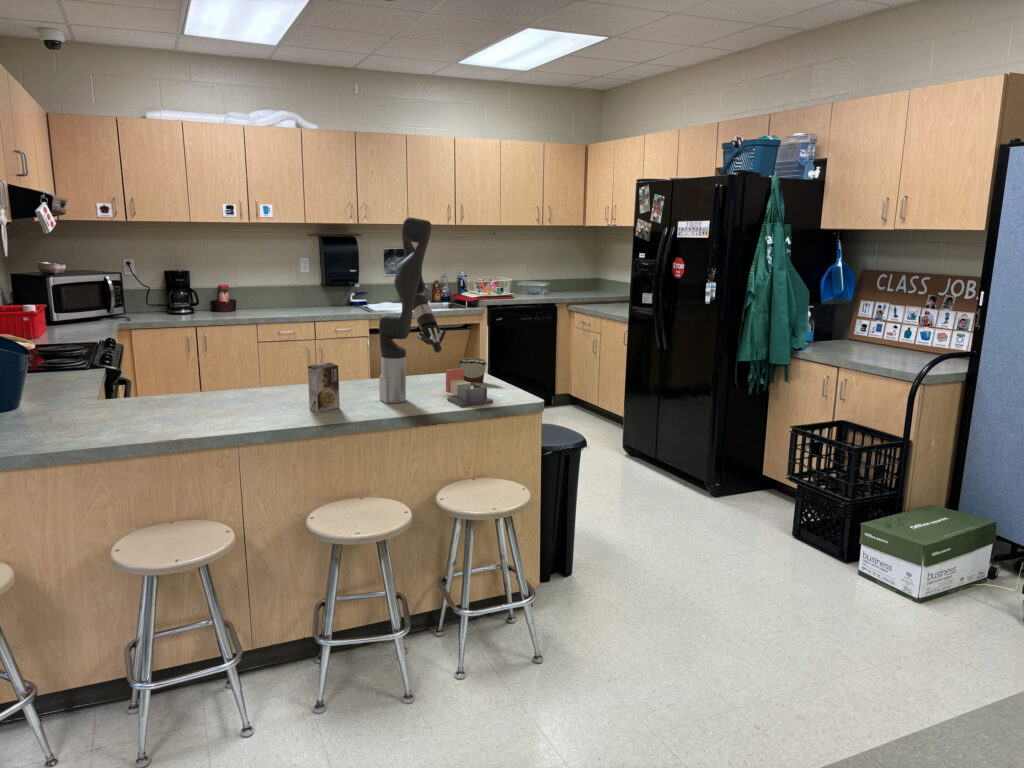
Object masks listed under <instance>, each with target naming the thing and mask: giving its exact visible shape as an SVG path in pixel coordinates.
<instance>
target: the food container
mask: <svg viewBox="0 0 1024 768" xmlns="http://www.w3.org/2000/svg"><path fill="white" fill-rule="evenodd" d="M457 364H458V365H459V368H462V369H464V381H467V382H473V383H472V384H474V383H477V384H478V383H483V384H484V378H485V372H486V367H487V366H488V364H487V361H486V359H484V358H480V357H464V358H460V359H459V361H458V363H457Z"/></svg>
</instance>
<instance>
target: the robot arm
mask: <svg viewBox="0 0 1024 768" xmlns="http://www.w3.org/2000/svg"><path fill="white" fill-rule="evenodd" d="M401 227H402V228H401V239H402V246H403V254H404V259H403V260H402V261H401V262H400V263H399V264H398V266H397V268H396V273H395V277H394V281H393V282H394V288H395V290H396V292H397V295H398V297H399V300H400V301H401V302H400V303H401V305H402V306H401V311H400V314H399V313H398V314H397V313H396V314H395V313H383V314H382V315H381V316H380V318H379V325H378V329H379V342H380V343H379V345H380V346H379V347H380V359H381V364H380V365H381V366H380V367H381V369H380V370H381V371H380V372H381V374H380V375H379V382H378V383H379V385H378V386H379V400H380V401H382V402H383V403H385V404H398V403H405V402H406V401H407V373H406V372H407V371H406V370H407V349H406V348H404V347H403V346H400V345H398V344H397V343H396V342H395V341H394V340H406V339H407V338H408V336H409V334H410V333H411V332H410V331H411V326H412V319H413V314H414V317H415V321H416V322H417V326H418V327H419V330H420V332H418V334H417V336H416V337H417V338H418V339H419V340H421V341H422V342H423V343H425V344H426V345H427V346H429V345H430V346H432V348H433V351H434V352H435V353H436V354H437V353H441V351H442V349H443V348H442V347H441V344H442V342H443V340H444V338H445V335H446V333H447V331H446V330H441V329H440V327H439V326H438V323H437V320H436V318H435V315H434V312H433V310H432V308H431V307H430V305H429V302H428V300H427V298H426V296H425V295H423V293H424V292H425V291H426V285H425V282H424V279H423V275H422V272H423V263H424V259H425V254H426V251H427V248H428V245H429V240H430V237H431V233H432V223H431V221H429V220H428V219H422V218H416V217H411V216H409V217H408V216H407V217H406V218H404V220H403V224H402V225H401ZM413 243H417V246H416V247H414V244H413Z"/></svg>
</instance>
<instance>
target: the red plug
mask: <svg viewBox="0 0 1024 768" xmlns="http://www.w3.org/2000/svg"><path fill="white" fill-rule="evenodd" d="M458 385H461V386H463V387H466V388H468V389H472V388H471V385H472V383H469V382H467V381H464V369H462V368H460V367H456V368H451V369H447V368H446V369H445V392H446V393H449V394H453V395H455V396H457V386H458Z"/></svg>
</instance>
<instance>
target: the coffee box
mask: <svg viewBox="0 0 1024 768" xmlns="http://www.w3.org/2000/svg"><path fill="white" fill-rule="evenodd" d="M307 378H308V379H307V380H308V383H307V384H308V402H309V409H310V410H312V411H313V412H316V413H320V412H325V411H330V410H334V409H335V410H336V409H340V407H341V406H340V380H339V378H340V377H339V365H337V364H335V363H333V362H324V363H317V364H316V363H315V364H310V365H309V364H308V365H307Z"/></svg>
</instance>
